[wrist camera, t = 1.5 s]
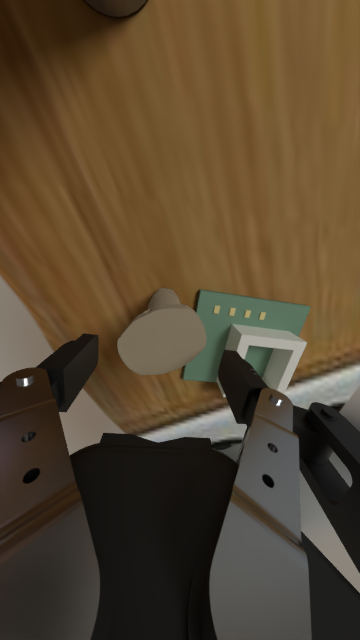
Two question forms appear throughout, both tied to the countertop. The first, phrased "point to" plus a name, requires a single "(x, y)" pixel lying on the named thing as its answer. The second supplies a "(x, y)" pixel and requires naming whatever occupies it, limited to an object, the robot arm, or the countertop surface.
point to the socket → (281, 358)
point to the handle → (162, 336)
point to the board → (240, 310)
